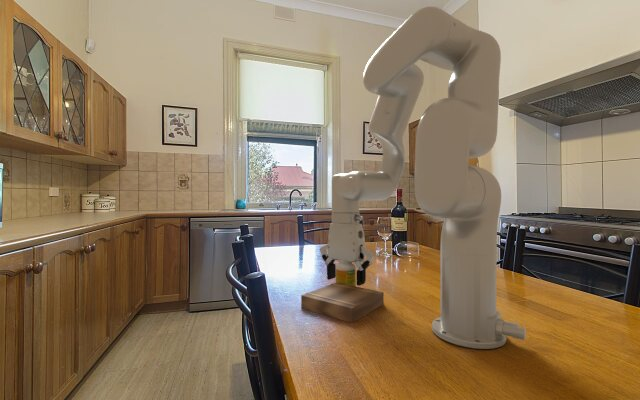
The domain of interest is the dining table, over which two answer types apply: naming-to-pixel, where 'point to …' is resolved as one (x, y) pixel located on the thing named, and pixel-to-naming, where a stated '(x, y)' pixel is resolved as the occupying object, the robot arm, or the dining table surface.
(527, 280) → the dining table surface
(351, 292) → the walnut board
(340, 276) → the supplement bottle
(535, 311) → the dining table surface
